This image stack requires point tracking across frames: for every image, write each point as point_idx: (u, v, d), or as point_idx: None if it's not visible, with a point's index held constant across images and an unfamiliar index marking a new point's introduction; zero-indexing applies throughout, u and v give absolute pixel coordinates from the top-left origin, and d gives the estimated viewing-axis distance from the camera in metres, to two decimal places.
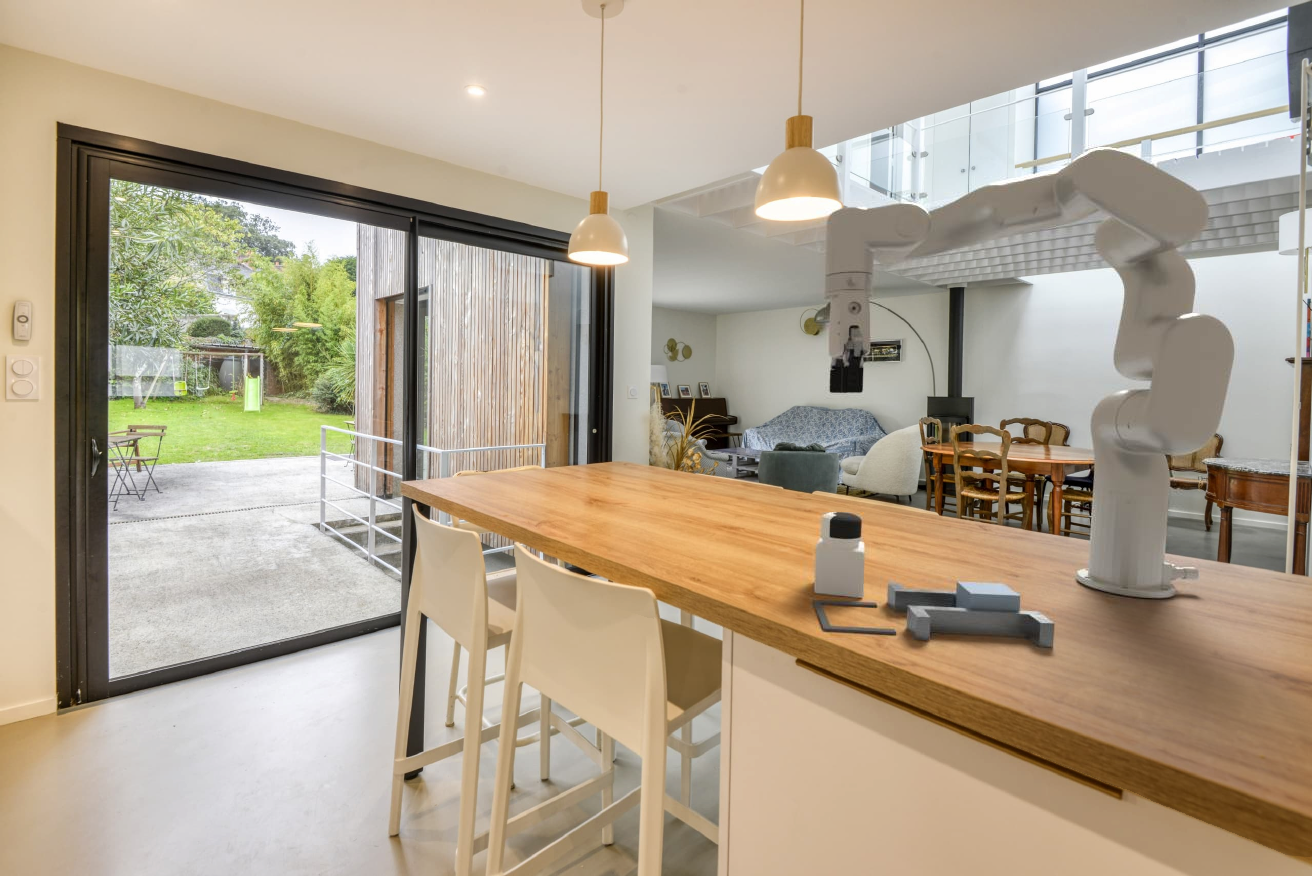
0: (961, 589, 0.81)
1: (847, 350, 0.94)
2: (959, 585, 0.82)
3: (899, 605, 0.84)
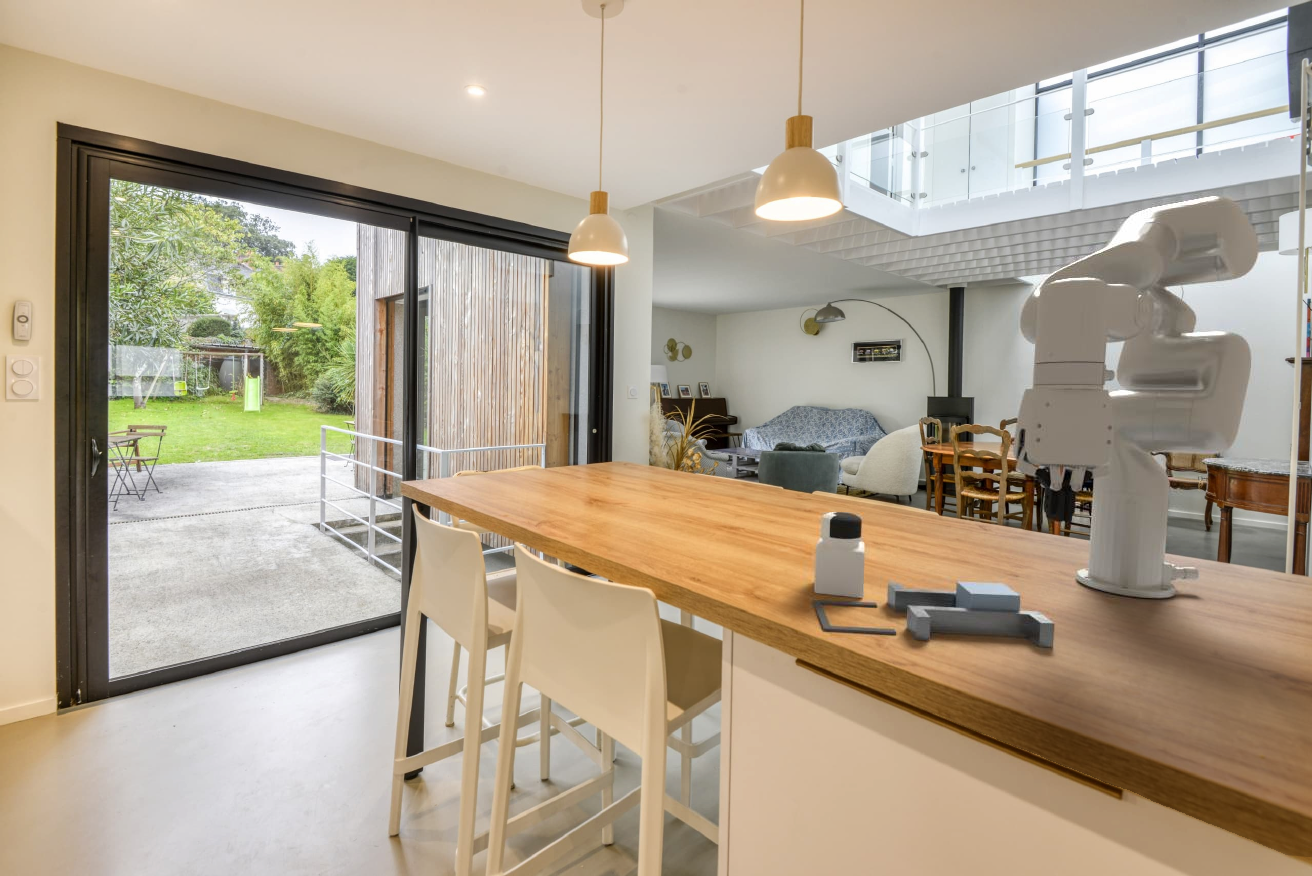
0: (961, 589, 0.81)
1: None
2: (959, 585, 0.82)
3: (899, 605, 0.84)
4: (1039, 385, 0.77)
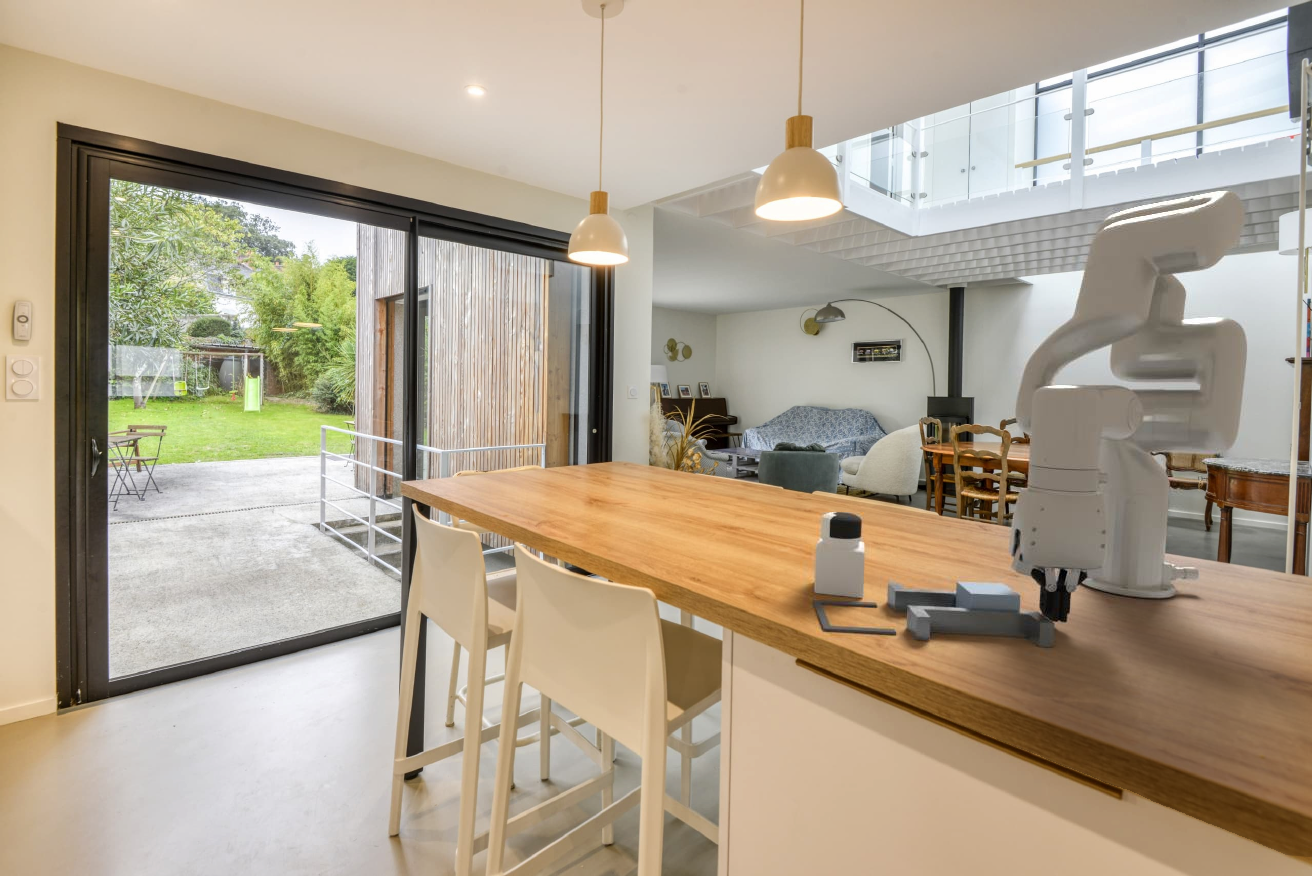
0: (961, 589, 0.81)
1: None
2: (959, 585, 0.82)
3: (899, 605, 0.84)
4: (1034, 488, 0.78)
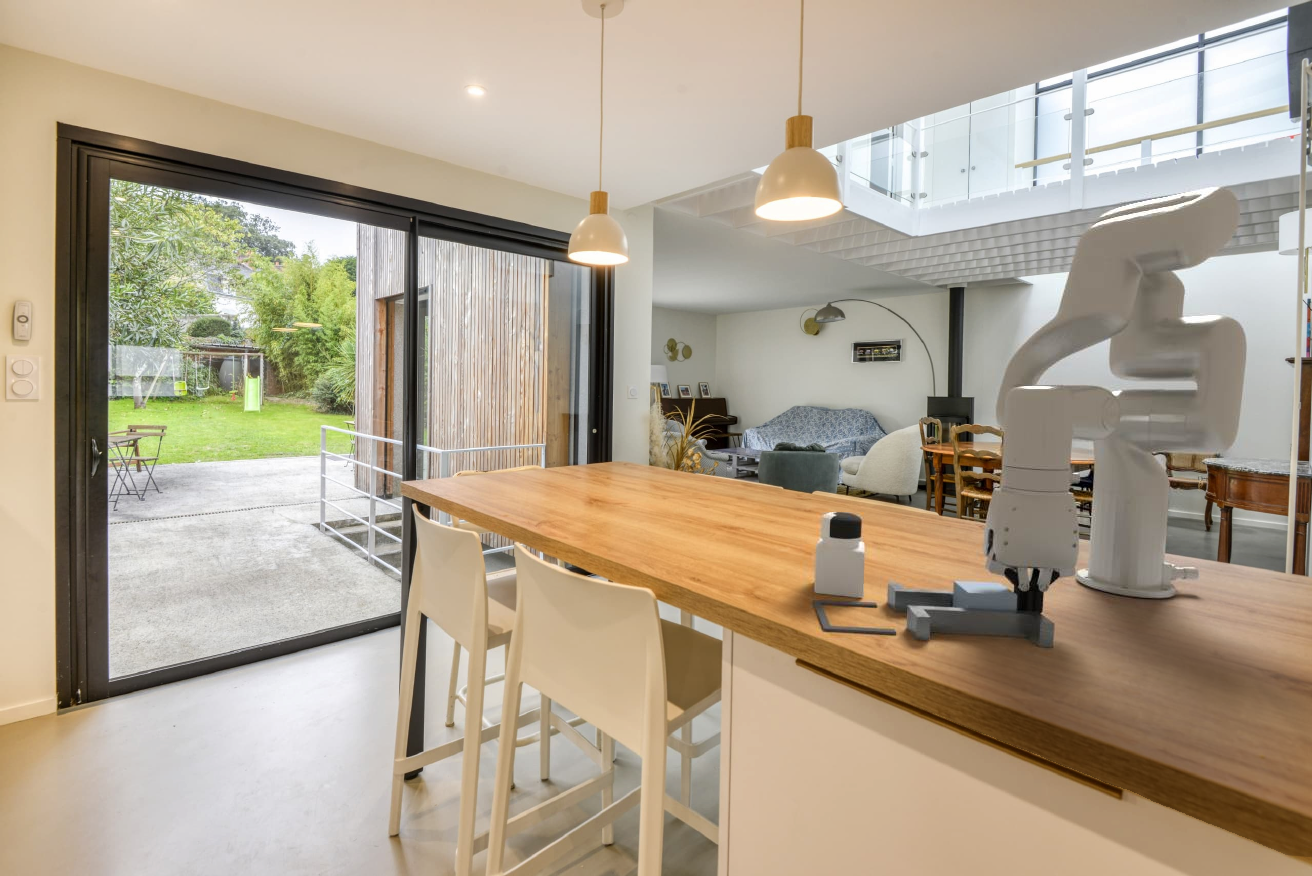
0: (958, 588, 0.81)
1: None
2: (956, 584, 0.82)
3: (899, 605, 0.84)
4: (1007, 488, 0.78)
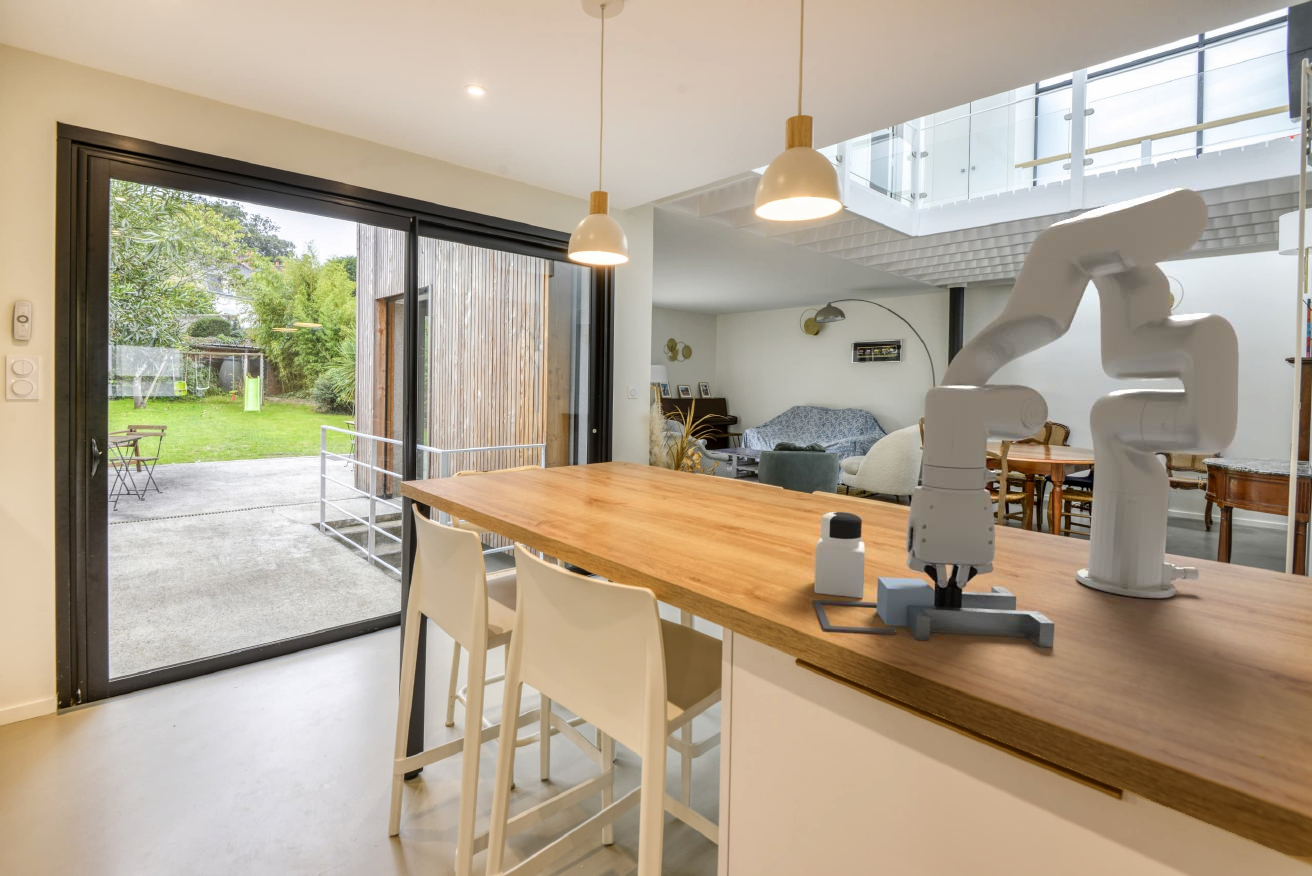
0: (881, 584, 0.82)
1: None
2: (879, 580, 0.83)
3: None
4: (925, 486, 0.79)
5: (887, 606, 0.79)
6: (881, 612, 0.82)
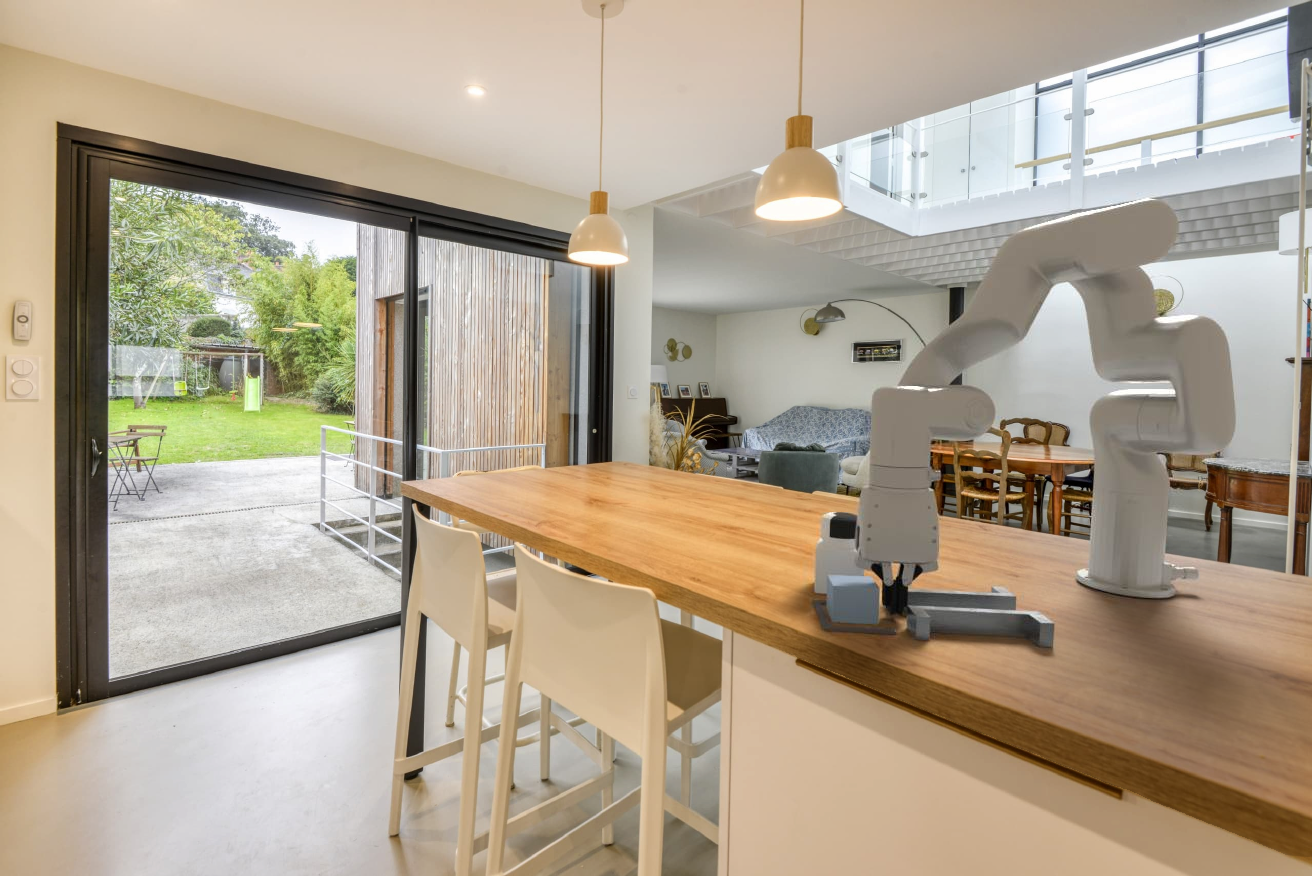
0: (829, 582, 0.83)
1: None
2: (828, 578, 0.84)
3: None
4: (871, 485, 0.80)
5: (833, 603, 0.80)
6: (829, 609, 0.83)
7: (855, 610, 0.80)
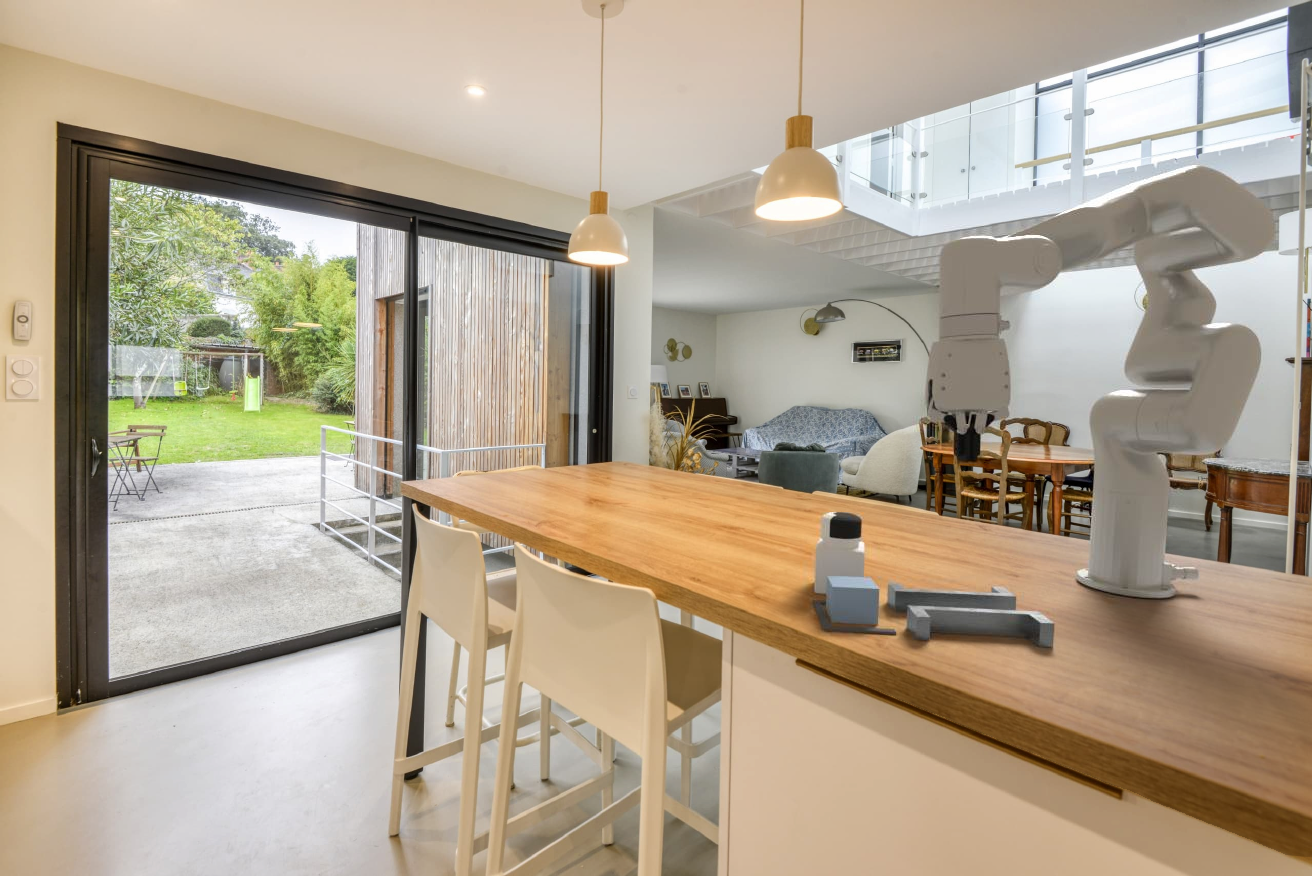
0: (828, 583, 0.83)
1: None
2: (827, 579, 0.84)
3: (899, 605, 0.84)
4: (943, 338, 0.83)
5: (833, 604, 0.80)
6: (828, 610, 0.83)
7: (854, 611, 0.80)
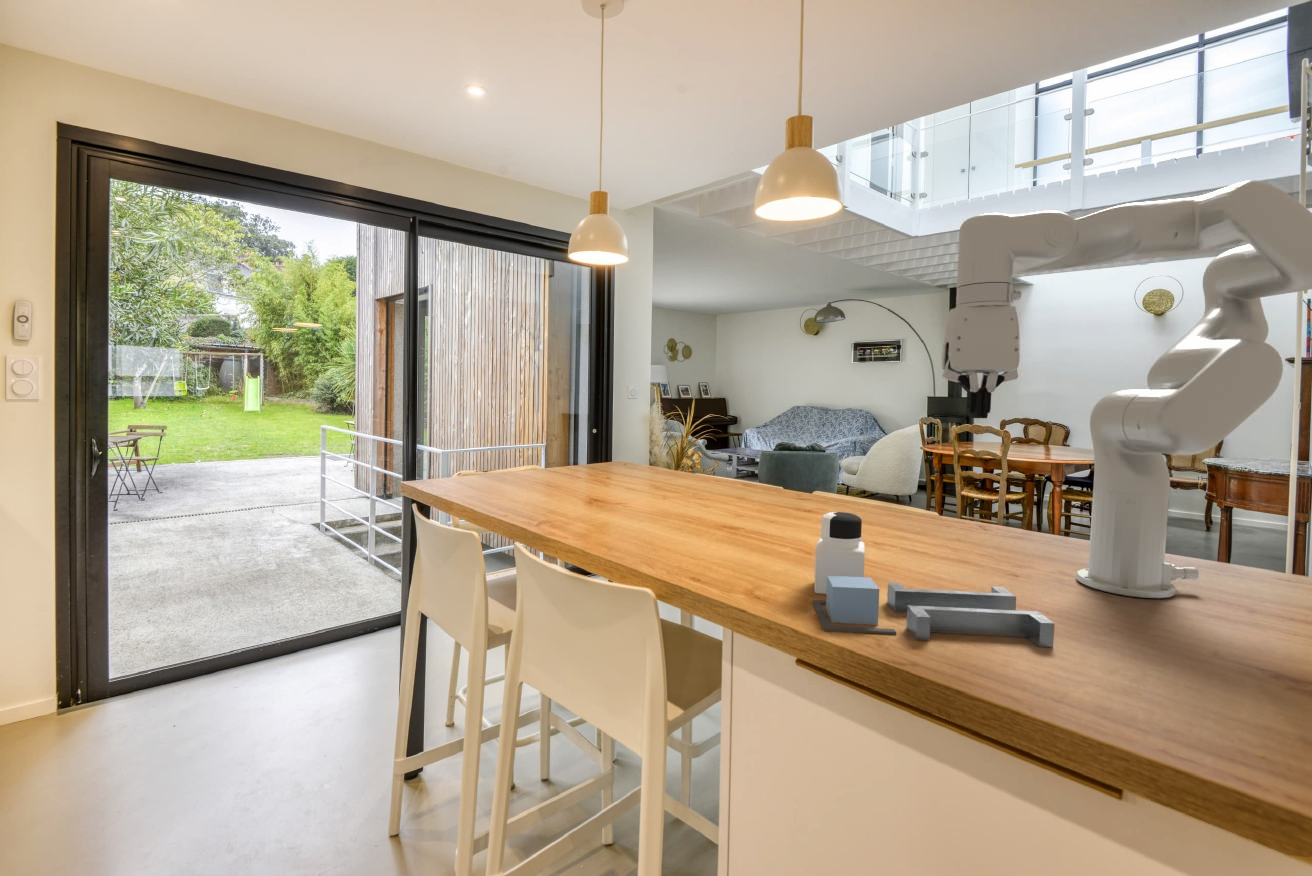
0: (828, 583, 0.83)
1: None
2: (828, 579, 0.84)
3: (899, 605, 0.84)
4: (959, 305, 0.92)
5: (833, 604, 0.80)
6: (828, 610, 0.83)
7: (854, 611, 0.80)
